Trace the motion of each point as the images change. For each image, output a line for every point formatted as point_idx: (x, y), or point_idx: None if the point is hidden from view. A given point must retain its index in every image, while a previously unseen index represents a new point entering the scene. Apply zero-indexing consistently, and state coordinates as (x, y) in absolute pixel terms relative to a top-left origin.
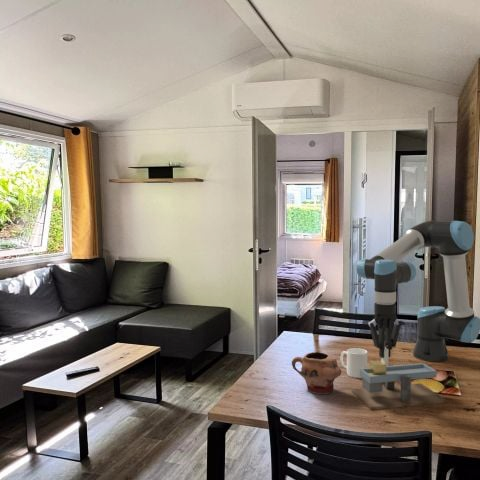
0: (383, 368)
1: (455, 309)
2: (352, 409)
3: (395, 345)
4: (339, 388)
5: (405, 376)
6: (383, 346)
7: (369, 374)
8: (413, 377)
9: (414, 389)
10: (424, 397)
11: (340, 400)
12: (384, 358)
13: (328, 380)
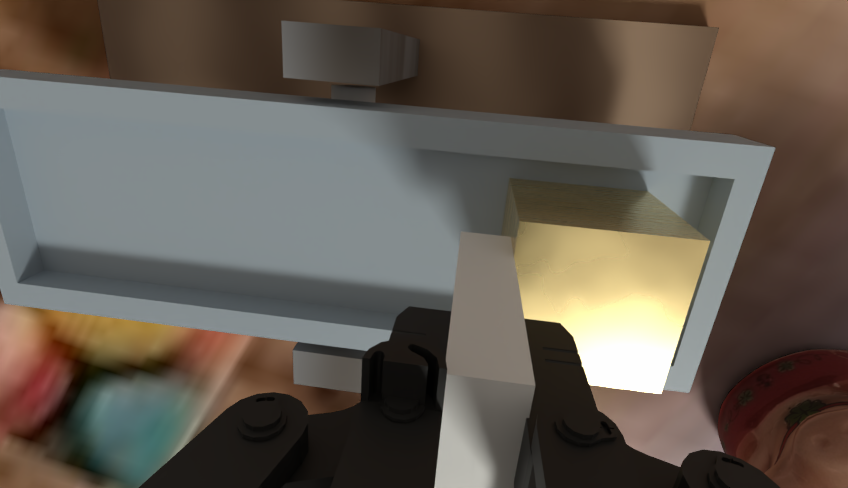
0: (552, 208)
1: None
2: (831, 79)
3: (230, 414)
4: (661, 397)
5: (336, 52)
6: (582, 461)
7: None
8: (232, 91)
9: None
10: (224, 68)
11: (793, 243)
12: (517, 300)
13: None
